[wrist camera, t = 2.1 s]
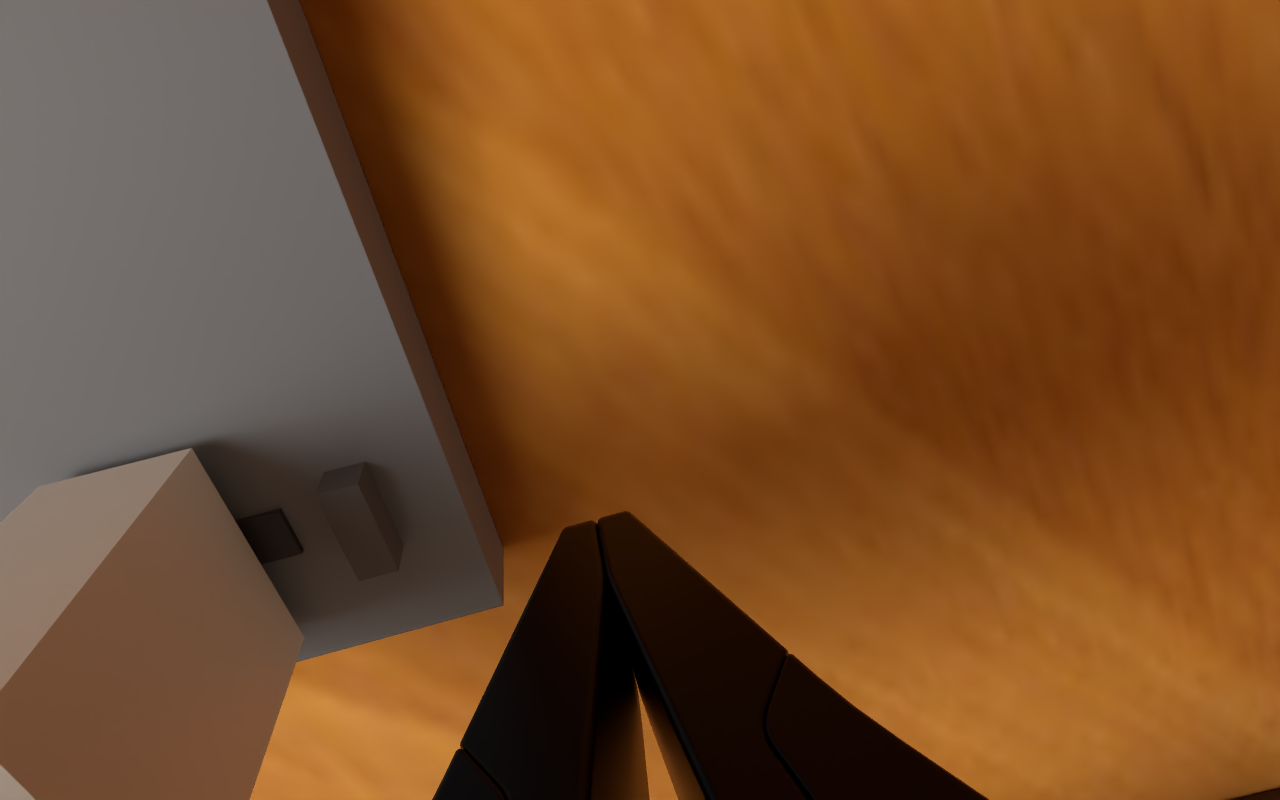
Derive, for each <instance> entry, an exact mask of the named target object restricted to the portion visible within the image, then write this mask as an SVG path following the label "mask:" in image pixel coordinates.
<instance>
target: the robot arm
mask: <svg viewBox="0 0 1280 800" xmlns="http://www.w3.org/2000/svg"><path fill="white" fill-rule="evenodd" d="M597 525H598V526H597ZM635 678H636V679H635ZM636 681H637V684H636ZM637 685H638V688H639V692H640V695H641V698H642V701H643V704H644V707H645V710H646V713H647V716H648V718H649V721H650V724H651V726H652V729H653V732H654V734H655V737H656V740H657V743H658V745H659V748H660V751H661V753H662V756H663V759H664V762H665V764H666V767H667V770H668V772H669V775H670V778H671V781H672V783H673V786H674V789H675V791H676V794H677V797H678V800H989V799H987V798H986V797H984V796H983V795H981V794H980V793H979V792H977V791H976V790H974V789H973V788H971V787H970V786H968V785H967V784H965V783H964V782H962V781H961V780H959V779H958V778H957V777H955V776H954V775H952V774H951V773H949V772H948V771H946V770H945V769H943V768H942V767H940V766H939V765H937V764H936V763H935V762H933V761H932V760H930V759H929V758H927V757H926V756H924V755H923V754H921V753H920V752H918V751H917V750H915V749H914V748H913V747H911V746H910V745H908V744H907V743H905V742H904V741H902V740H901V739H899V738H898V737H897V736H895V735H894V734H892V733H891V732H890V731H888V730H887V729H885V728H884V727H883V726H881V725H880V724H878V723H877V722H876V721H874V720H873V719H871V718H870V717H869V716H867V715H866V714H864V713H863V712H862V711H860V710H859V709H858V708H856V707H855V706H853V705H852V704H851V703H850V702H848V701H847V700H846V699H845V698H844V697H842V696H841V695H840V694H839V693H837V692H836V691H835V690H834V689H833V688H831V687H830V686H829V685H828V684H826V683H825V682H824V681H823V680H822V679H820V678H819V677H818V676H817V675H815V674H814V673H813V672H812V671H811V670H810V669H809V668H808V667H806V666H805V665H804V664H803V663H802V662H801V661H800V660H798V659H797V658H796V657H795V656H794V655H792V654H788V651H787V650H786V649H785V648H784V647H783V646H782V645H781V644H780V643H779V642H777V641H776V640H775V639H774V638H773V637H772V636H771V635H769V634H768V633H767V632H766V631H765V630H764V629H763V628H761V627H760V626H759V625H758V624H757V623H756V622H755V621H753V620H752V619H751V618H750V617H749V616H748V615H747V614H745V613H744V612H743V611H742V610H741V609H740V608H739V607H737V606H736V605H735V604H734V603H733V602H732V601H731V600H729V599H728V598H727V597H726V596H725V595H724V594H723V593H721V592H720V591H719V590H718V589H717V588H716V587H715V586H713V585H712V584H711V583H710V582H709V581H708V580H707V579H705V578H704V577H703V576H702V575H701V574H700V573H699V572H697V571H696V570H695V569H694V568H693V567H692V566H691V565H689V564H688V563H687V562H686V561H685V560H684V559H683V558H681V557H680V556H679V555H678V554H677V553H676V552H675V551H673V550H672V549H671V548H670V547H669V546H668V545H667V544H666V543H664V542H663V541H662V540H661V539H660V538H659V537H658V536H656V535H655V534H654V533H653V532H652V531H651V530H650V529H648V528H647V527H646V526H645V525H644V524H643V523H642V522H640V521H639V520H638V519H637V518H636V517H635V516H634V515H632V514H631V513H630V512H627V511H624V512H620V513H616V514H613V515H609V516H605V517H602V518H600V519H599V520H598V523H596V522H595V521H587V522H583V523H579V524H575V525H572V526H568V527H566V528H565V529H563V531H562V532H561V535H560V537H559V539H558V541H557V543H556V545H555V547H554V549H553V551H552V553H551V555H550V557H549V560H548V562H547V564H546V566H545V568H544V570H543V572H542V574H541V576H540V578H539V580H538V582H537V584H536V587H535V589H534V591H533V593H532V595H531V597H530V599H529V601H528V603H527V605H526V607H525V609H524V612H523V614H522V616H521V618H520V620H519V622H518V624H517V626H516V628H515V630H514V632H513V634H512V637H511V639H510V641H509V643H508V645H507V647H506V649H505V651H504V653H503V655H502V657H501V659H500V662H499V664H498V666H497V668H496V670H495V672H494V674H493V676H492V678H491V680H490V682H489V684H488V687H487V689H486V691H485V693H484V695H483V697H482V699H481V701H480V703H479V705H478V707H477V709H476V712H475V714H474V716H473V718H472V720H471V722H470V724H469V726H468V728H467V730H466V732H465V734H464V737H463V739H462V741H461V743H460V747H461V749H458V750H457V751H456V752H455V754H454V757H453V759H452V761H451V763H450V765H449V767H448V769H447V771H446V773H445V775H444V777H443V780H442V782H441V784H440V785H439V787H438V789H437V791H436V793H435V795H434V797H433V799H432V800H649V790H648V780H647V770H646V760H645V750H644V740H643V730H642V720H641V711H640V703H639V695H638V690H637Z"/></svg>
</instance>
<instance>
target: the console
mask: <svg viewBox="0 0 1280 800" xmlns="http://www.w3.org/2000/svg"><path fill="white" fill-rule="evenodd" d="M189 448H192V449H193V451H194V453H195V454H196V456H197V458H198V459H199V461H200V463H201V464H202V466H203V468H204V469H205V471H206V473H207V474H208V476H209V478H210V480H211V481H212V483H213V485H214V486H215V488H216V490H217V491H218V493H219V495H220V496H221V498H222V500H223V501H224V503H225V505H226V506H227V508H228V510H229V511H230V513H231V515H232V517H233V518H234V520H235V522H236V523H237V525H238V527H239V528H240V530H241V532H242V533H243V535H244V537H245V538H246V540H247V542H248V543H249V545H250V547H251V549H252V550H253V552H254V554H255V555H256V557H257V559H258V560H259V562H260V564H261V565H262V567H263V569H264V570H265V572H266V574H267V575H268V577H269V579H270V580H271V582H272V584H273V586H274V587H275V589H276V591H277V592H278V594H279V596H280V597H281V599H282V601H283V602H284V604H285V606H286V607H287V609H288V611H289V612H290V614H291V616H292V617H293V619H294V621H295V623H296V624H297V626H298V628H299V629H300V631H301V633H302V634H303V636H304V640H303V643H302V646H301V649H300V652H299V655H298V658H297V661H296V662H299V661H302V660H306V659H310V658H313V657H317V656H321V655H324V654H328V653H331V652H335V651H339V650H342V649H346V648H350V647H353V646H357V645H361V644H364V643H368V642H372V641H375V640H379V639H382V638H386V637H390V636H393V635H397V634H401V633H404V632H408V631H412V630H415V629H419V628H423V627H426V626H430V625H433V624H437V623H441V622H444V621H448V620H452V619H455V618H459V617H463V616H466V615H470V614H474V613H477V612H481V611H484V610H488V609H492V608H495V607H499V606H503V547H502V544H501V541H500V539H499V536H498V533H497V531H496V528H495V525H494V522H493V520H492V517H491V514H490V512H489V509H488V506H487V504H486V501H485V498H484V496H483V493H482V490H481V488H480V485H479V482H478V479H477V477H476V474H475V471H474V469H473V466H472V463H471V461H470V458H469V455H468V453H467V450H466V447H465V444H464V442H463V439H462V436H461V434H460V431H459V428H458V426H457V423H456V420H455V418H454V415H453V412H452V410H451V407H450V404H449V401H448V399H447V396H446V393H445V391H444V388H443V385H442V383H441V380H440V377H439V375H438V372H437V369H436V367H435V364H434V361H433V358H432V356H431V353H430V350H429V348H428V345H427V342H426V340H425V337H424V334H423V332H422V329H421V326H420V323H419V321H418V318H417V315H416V313H415V310H414V307H413V305H412V302H411V299H410V297H409V294H408V291H407V289H406V286H405V283H404V280H403V278H402V275H401V272H400V270H399V267H398V264H397V262H396V259H395V256H394V254H393V251H392V248H391V245H390V243H389V240H388V237H387V235H386V232H385V229H384V227H383V224H382V221H381V219H380V216H379V213H378V211H377V208H376V205H375V202H374V200H373V197H372V194H371V192H370V189H369V186H368V184H367V181H366V178H365V176H364V173H363V170H362V167H361V165H360V162H359V159H358V157H357V154H356V151H355V149H354V146H353V143H352V141H351V138H350V135H349V133H348V130H347V127H346V124H345V122H344V119H343V116H342V114H341V111H340V108H339V106H338V103H337V100H336V98H335V95H334V92H333V90H332V87H331V84H330V81H329V79H328V76H327V73H326V71H325V68H324V65H323V63H322V60H321V57H320V55H319V52H318V49H317V46H316V44H315V41H314V38H313V36H312V33H311V30H310V28H309V25H308V22H307V20H306V17H305V14H304V12H303V9H302V6H301V3H300V1H299V0H0V522H1V521H2V520H3V519H4V518H5V517H6V516H7V515H8V514H9V513H11V512H12V511H13V510H14V509H15V508H16V507H17V506H18V505H19V504H20V503H21V502H22V501H23V500H24V499H25V498H27V497H28V496H29V495H30V494H31V493H32V492H33V491H34V490H35V489H36V488H37V487H39V486H43V485H46V484H50V483H54V482H58V481H62V480H66V479H70V478H74V477H78V476H82V475H86V474H90V473H94V472H98V471H102V470H106V469H110V468H114V467H118V466H122V465H126V464H130V463H134V462H138V461H142V460H146V459H150V458H154V457H158V456H162V455H166V454H170V453H173V452H177V451H181V450H185V449H189Z"/></svg>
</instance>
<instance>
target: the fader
mask: <svg viewBox="0 0 1280 800" xmlns="http://www.w3.org/2000/svg"><path fill="white" fill-rule="evenodd" d="M303 640H304V636H303V634H302V633H301V631H300V629H299V628H298V626H297V624H296V623H295V621H294V619H293V617H292V616H291V614H290V612H289V611H288V609H287V607H286V606H285V604H284V602H283V601H282V599H281V597H280V596H279V594H278V592H277V591H276V589H275V587H274V586H273V584H272V582H271V580H270V579H269V577H268V575H267V574H266V572H265V570H264V569H263V567H262V565H261V564H260V562H259V560H258V559H257V557H256V555H255V554H254V552H253V550H252V549H251V547H250V545H249V543H248V542H247V540H246V538H245V537H244V535H243V533H242V532H241V530H240V528H239V527H238V525H237V523H236V522H235V520H234V518H233V517H232V515H231V513H230V511H229V510H228V508H227V506H226V505H225V503H224V501H223V500H222V498H221V496H220V495H219V493H218V491H217V490H216V488H215V486H214V485H213V483H212V481H211V480H210V478H209V476H208V474H207V473H206V471H205V469H204V468H203V466H202V464H201V463H200V461H199V459H198V458H197V456H196V454H195V453H194V451H193V449H192V448H189V449H185V450H181V451H177V452H173V453H170V454H166V455H162V456H158V457H154V458H150V459H146V460H142V461H138V462H134V463H130V464H126V465H122V466H118V467H114V468H110V469H106V470H102V471H98V472H94V473H90V474H86V475H82V476H78V477H74V478H70V479H66V480H62V481H58V482H54V483H50V484H46V485H43V486H39V487H37V488H36V489H35V490H34V491H33V492H32V493H31V494H30V495H29V496H28V497H27V498H25V499H24V500H23V501H22V502H21V503H20V504H19V505H18V506H17V507H16V508H15V509H14V510H13V511H12V512H11V513H9V514H8V515H7V516H6V517H5V518H4V519H3V520H2V521H1V522H0V800H249V799H250V796H251V794H252V791H253V788H254V785H255V782H256V779H257V776H258V773H259V770H260V767H261V764H262V761H263V758H264V755H265V752H266V749H267V746H268V743H269V741H270V738H271V735H272V732H273V729H274V726H275V723H276V720H277V717H278V714H279V711H280V708H281V705H282V702H283V699H284V696H285V693H286V691H287V688H288V685H289V682H290V679H291V676H292V673H293V670H294V667H295V664H296V661H297V658H298V655H299V652H300V649H301V646H302V643H303Z"/></svg>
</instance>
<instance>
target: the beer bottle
mask: <svg viewBox="0 0 1280 800" xmlns="http://www.w3.org/2000/svg"><path fill="white" fill-rule="evenodd" d="M1234 800H1280V789H1276V790H1272V791H1268V792H1264V793H1260V794H1255V795H1251V796H1247V797H1243V798H1239V799H1234Z"/></svg>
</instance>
